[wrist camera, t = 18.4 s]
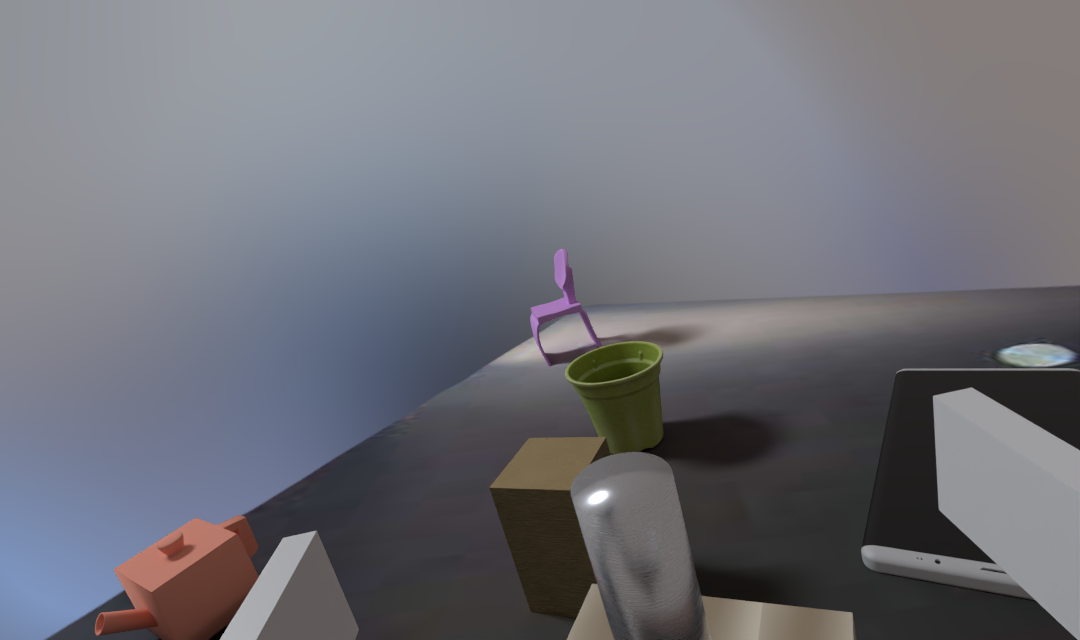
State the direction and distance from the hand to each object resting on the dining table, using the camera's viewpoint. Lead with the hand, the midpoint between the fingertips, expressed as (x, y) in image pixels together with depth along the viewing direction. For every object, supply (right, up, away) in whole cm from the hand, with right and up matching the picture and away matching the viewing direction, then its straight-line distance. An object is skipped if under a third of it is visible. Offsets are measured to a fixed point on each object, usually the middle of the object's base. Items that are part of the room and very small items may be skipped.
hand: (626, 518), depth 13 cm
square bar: (+1, -14, +29) cm, 32 cm away
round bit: (+6, -17, +15) cm, 23 cm away
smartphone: (+31, -6, +30) cm, 44 cm away
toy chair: (+3, -1, +75) cm, 75 cm away
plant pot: (+7, -8, +46) cm, 47 cm away
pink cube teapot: (-29, -21, +36) cm, 51 cm away
